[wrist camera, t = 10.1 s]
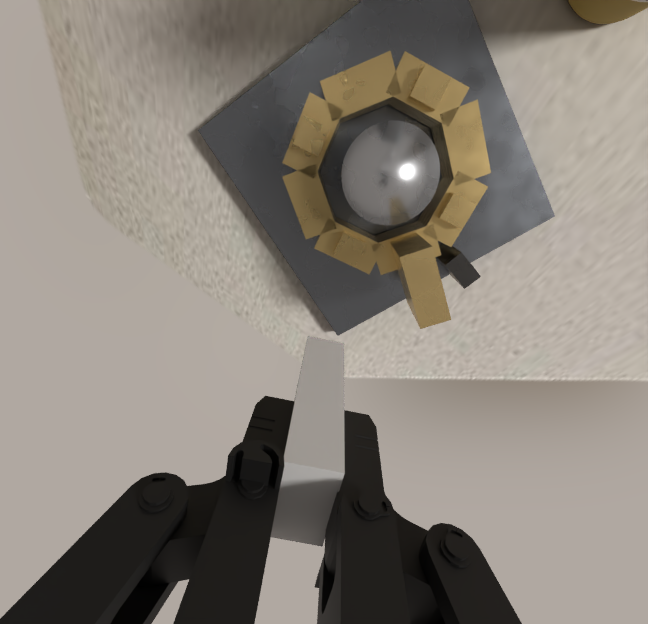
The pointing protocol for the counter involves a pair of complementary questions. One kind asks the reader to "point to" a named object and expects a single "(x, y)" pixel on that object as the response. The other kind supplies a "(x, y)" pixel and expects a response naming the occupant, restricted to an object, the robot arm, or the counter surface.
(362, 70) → the ring nut
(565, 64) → the counter surface
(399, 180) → the housing
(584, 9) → the bark textured cylinder
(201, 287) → the counter surface
